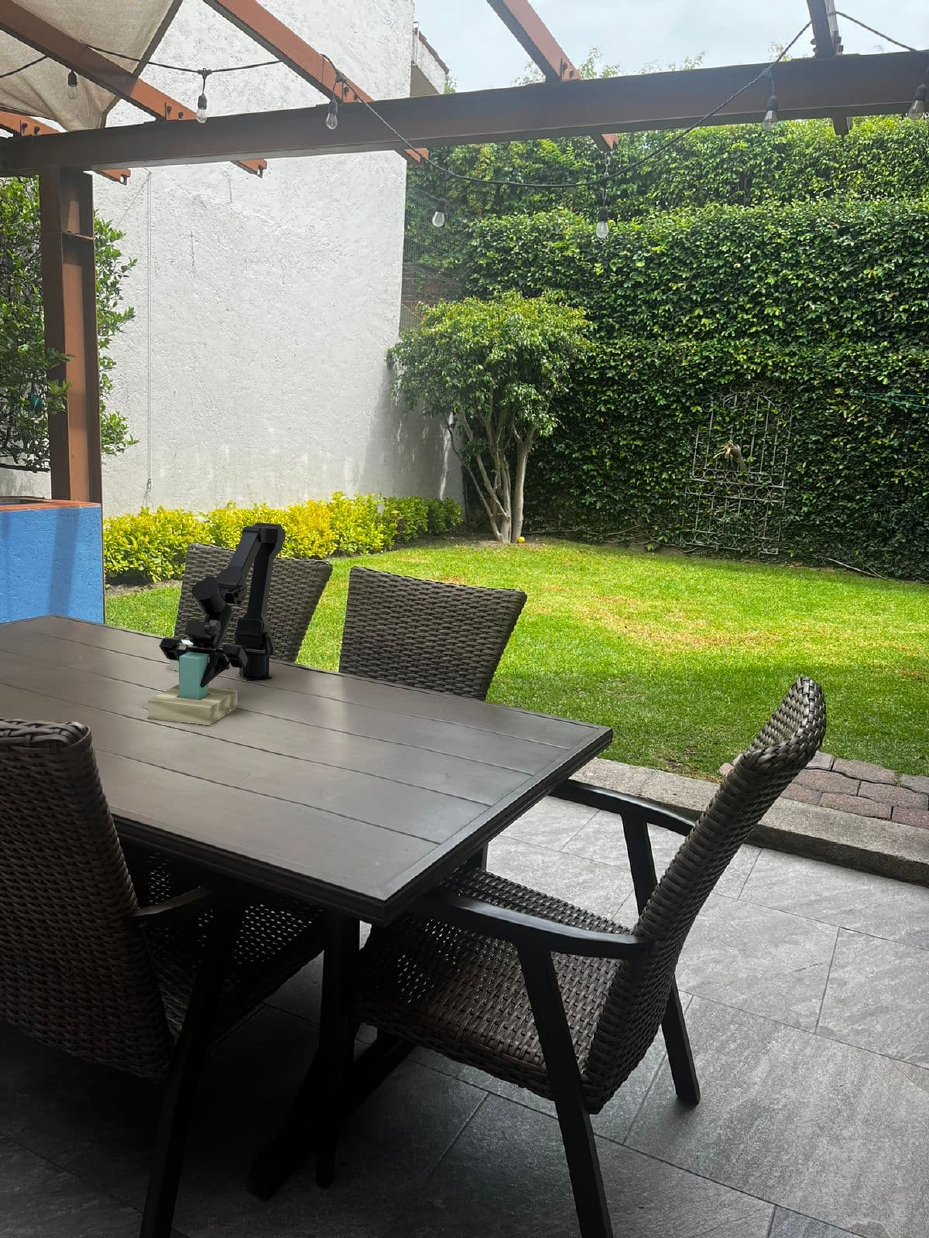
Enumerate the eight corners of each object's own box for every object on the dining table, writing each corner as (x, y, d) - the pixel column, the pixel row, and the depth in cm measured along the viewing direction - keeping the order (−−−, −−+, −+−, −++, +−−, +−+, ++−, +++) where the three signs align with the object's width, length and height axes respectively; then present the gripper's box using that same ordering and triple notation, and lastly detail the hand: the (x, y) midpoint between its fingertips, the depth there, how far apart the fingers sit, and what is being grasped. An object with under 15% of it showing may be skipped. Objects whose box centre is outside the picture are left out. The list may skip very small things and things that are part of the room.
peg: (188, 708, 203) (189, 651, 200) (207, 711, 202) (208, 654, 200) (179, 714, 199) (179, 656, 196) (198, 716, 198) (199, 658, 195)
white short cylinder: (191, 672, 232) (191, 646, 231) (164, 670, 232) (164, 644, 231) (199, 666, 239) (199, 640, 237) (173, 664, 239) (173, 638, 237)
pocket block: (179, 700, 208) (179, 683, 208) (237, 707, 206) (237, 690, 205) (147, 718, 195) (147, 700, 194) (209, 725, 192) (209, 707, 192)
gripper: (163, 601, 201) (137, 661, 193) (243, 609, 198) (220, 670, 190) (180, 629, 210) (155, 687, 202) (257, 637, 207) (235, 697, 199)
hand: (190, 685), depth 198 cm, fingers closed on peg, 4 cm apart
